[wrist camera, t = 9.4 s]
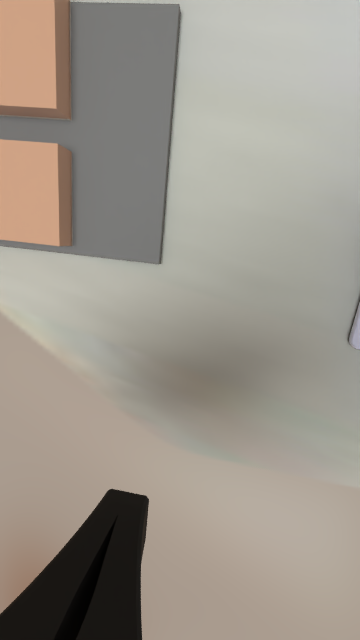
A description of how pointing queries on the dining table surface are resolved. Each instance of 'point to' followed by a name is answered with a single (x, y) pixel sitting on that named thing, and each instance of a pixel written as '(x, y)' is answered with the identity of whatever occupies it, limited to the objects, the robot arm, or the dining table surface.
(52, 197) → the tile
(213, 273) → the dining table surface
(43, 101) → the tile
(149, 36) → the mat
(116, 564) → the robot arm
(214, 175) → the dining table surface
